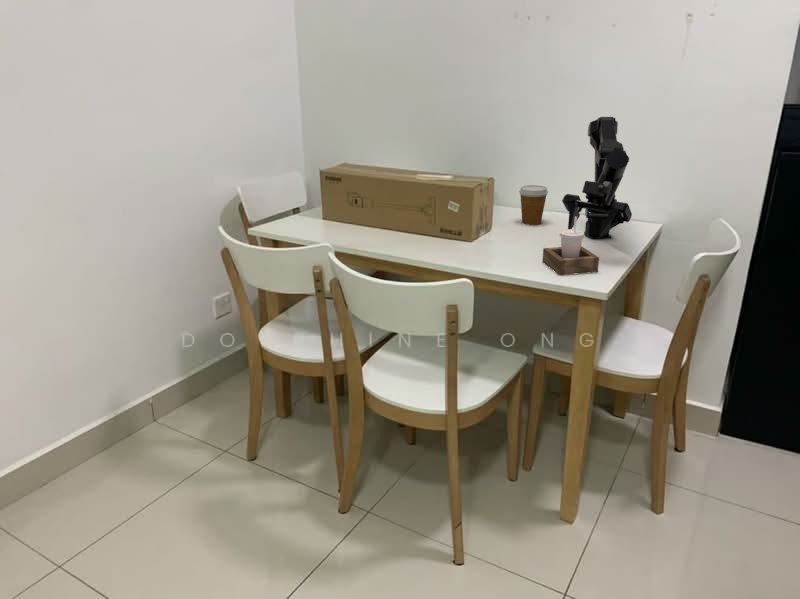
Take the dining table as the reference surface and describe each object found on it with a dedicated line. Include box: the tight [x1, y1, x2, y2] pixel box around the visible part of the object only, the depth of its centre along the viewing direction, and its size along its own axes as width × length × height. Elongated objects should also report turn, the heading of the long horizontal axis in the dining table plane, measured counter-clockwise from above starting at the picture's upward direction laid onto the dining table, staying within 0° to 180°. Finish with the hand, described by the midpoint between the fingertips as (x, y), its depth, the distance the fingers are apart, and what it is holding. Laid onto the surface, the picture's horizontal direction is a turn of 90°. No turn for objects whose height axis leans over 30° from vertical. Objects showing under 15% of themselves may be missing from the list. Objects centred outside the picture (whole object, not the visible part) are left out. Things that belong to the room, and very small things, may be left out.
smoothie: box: [559, 216, 585, 259], centre depth 164 cm, size 6×6×14 cm
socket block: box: [542, 245, 600, 276], centre depth 166 cm, size 11×11×4 cm
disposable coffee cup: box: [518, 184, 549, 226], centre depth 206 cm, size 10×10×12 cm
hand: (584, 233), depth 169 cm, fingers open, 9 cm apart
